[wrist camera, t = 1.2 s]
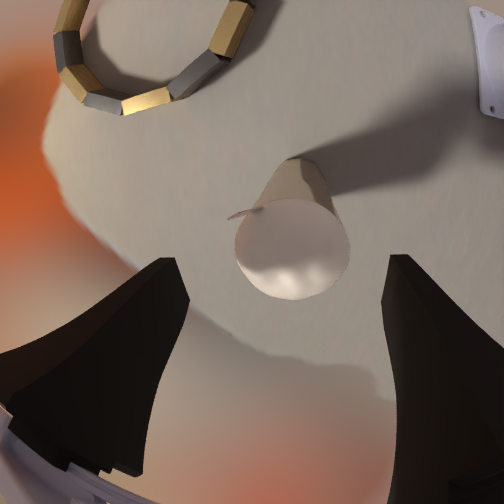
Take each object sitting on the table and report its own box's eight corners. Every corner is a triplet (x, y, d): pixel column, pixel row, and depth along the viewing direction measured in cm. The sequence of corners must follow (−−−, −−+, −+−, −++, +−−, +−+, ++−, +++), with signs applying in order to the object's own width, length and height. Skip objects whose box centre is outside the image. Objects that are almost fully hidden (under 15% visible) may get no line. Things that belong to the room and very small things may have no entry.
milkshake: (302, 123, 15) (299, 177, 7) (345, 193, 17) (373, 305, 9) (241, 160, 17) (180, 247, 9) (287, 223, 19) (268, 341, 11)
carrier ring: (235, -84, 6) (228, -97, 5) (267, 84, 14) (262, 85, 13) (67, -12, 10) (51, -14, 8) (87, 129, 17) (70, 136, 16)
